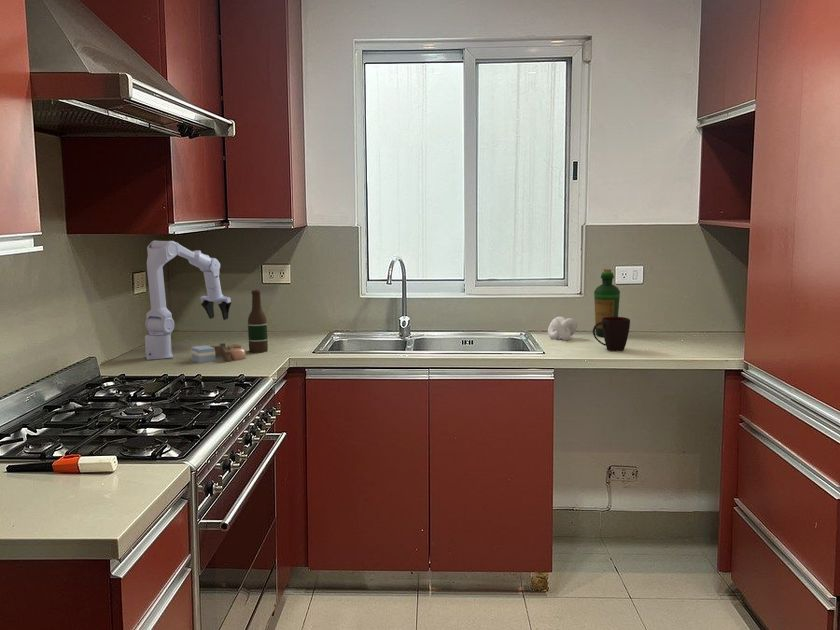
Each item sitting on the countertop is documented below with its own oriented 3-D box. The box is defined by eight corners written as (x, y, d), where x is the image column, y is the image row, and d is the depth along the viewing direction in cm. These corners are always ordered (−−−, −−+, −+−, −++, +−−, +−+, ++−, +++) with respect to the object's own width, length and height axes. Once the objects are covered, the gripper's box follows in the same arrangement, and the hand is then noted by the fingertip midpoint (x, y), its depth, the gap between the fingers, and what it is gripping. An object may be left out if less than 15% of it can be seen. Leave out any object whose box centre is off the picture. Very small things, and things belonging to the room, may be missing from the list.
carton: (199, 363, 293) (199, 350, 293) (191, 360, 300) (190, 347, 299) (215, 361, 297) (215, 348, 296) (207, 358, 303) (206, 345, 303)
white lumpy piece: (540, 339, 334) (540, 317, 333) (558, 335, 342) (558, 314, 341) (562, 342, 326) (562, 320, 324) (580, 338, 334) (580, 317, 332)
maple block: (231, 357, 304) (230, 346, 304) (227, 355, 308) (227, 345, 307) (241, 355, 306) (240, 345, 306) (237, 354, 310) (237, 344, 309)
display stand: (199, 363, 292) (199, 352, 291) (195, 356, 306) (194, 345, 305) (231, 361, 295) (230, 349, 295) (225, 354, 310) (224, 342, 309)
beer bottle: (264, 353, 311) (261, 291, 307) (245, 352, 312) (242, 291, 309) (271, 349, 318) (269, 289, 315) (253, 349, 320) (250, 289, 317)
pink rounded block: (230, 361, 297) (229, 351, 296) (227, 358, 302) (227, 349, 302) (246, 359, 299) (246, 350, 299) (244, 356, 305) (243, 347, 304)
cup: (632, 351, 303) (633, 320, 302) (597, 353, 302) (597, 321, 300) (623, 347, 313) (623, 316, 311) (588, 348, 312) (589, 317, 310)
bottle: (588, 335, 342) (589, 269, 338) (608, 333, 346) (609, 268, 342) (603, 338, 332) (605, 271, 328) (624, 336, 337) (626, 269, 333)
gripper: (233, 284, 327) (238, 316, 331) (206, 283, 334) (212, 314, 338) (221, 289, 321) (227, 321, 325) (194, 288, 328) (200, 319, 332)
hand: (218, 318), depth 331 cm, fingers open, 7 cm apart
